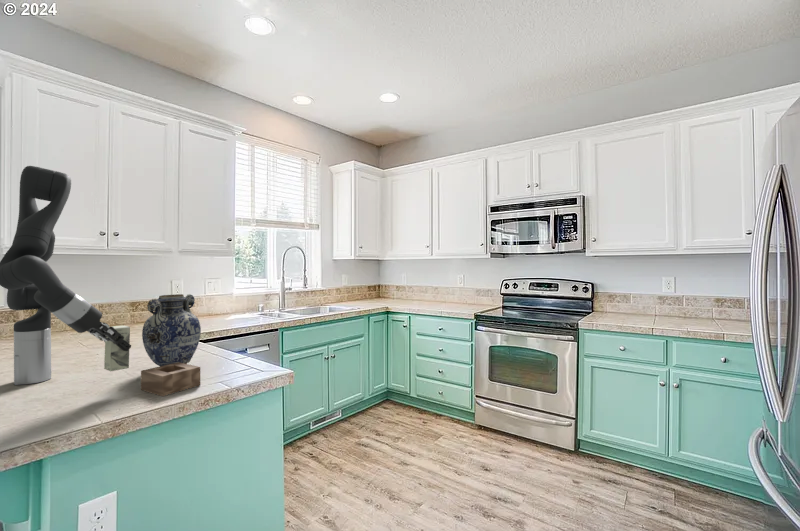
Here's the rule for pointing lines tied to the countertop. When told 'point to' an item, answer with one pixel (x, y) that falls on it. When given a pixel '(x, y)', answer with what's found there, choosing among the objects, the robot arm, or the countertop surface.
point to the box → (117, 351)
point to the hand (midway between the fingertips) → (124, 347)
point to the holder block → (170, 378)
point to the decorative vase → (171, 330)
